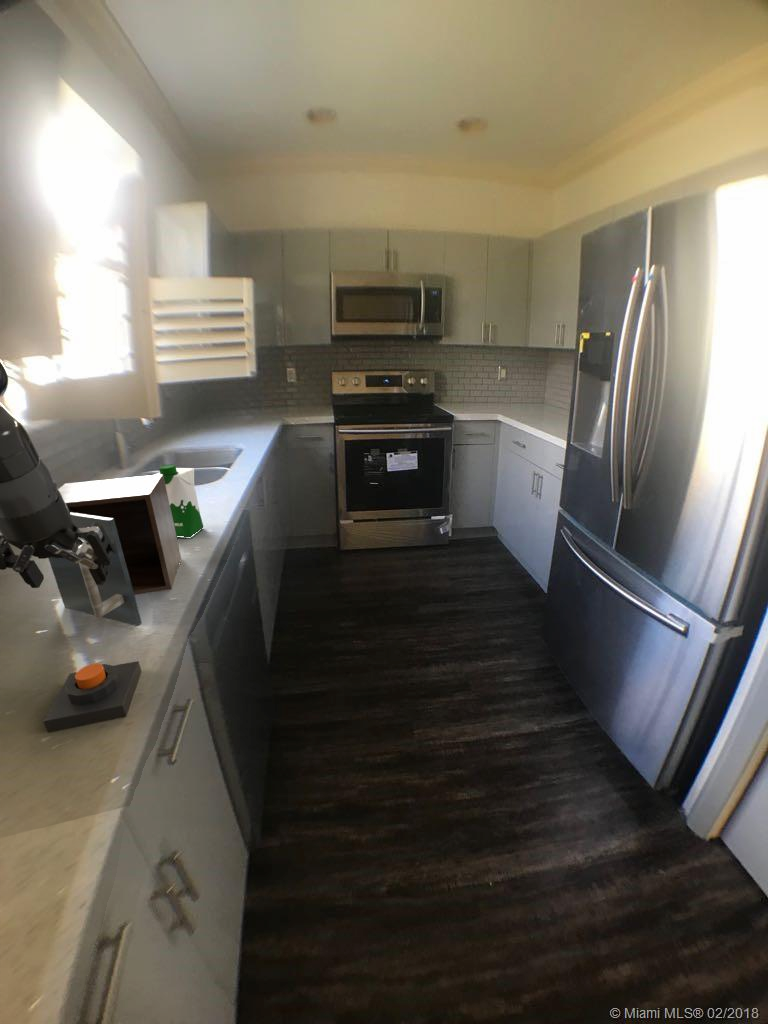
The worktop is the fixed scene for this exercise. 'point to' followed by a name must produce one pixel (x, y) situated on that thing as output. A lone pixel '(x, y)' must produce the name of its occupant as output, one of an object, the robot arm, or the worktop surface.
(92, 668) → the release button
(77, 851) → the worktop surface
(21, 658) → the worktop surface
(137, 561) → the cupboard
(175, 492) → the milk carton
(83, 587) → the door
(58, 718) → the panel
